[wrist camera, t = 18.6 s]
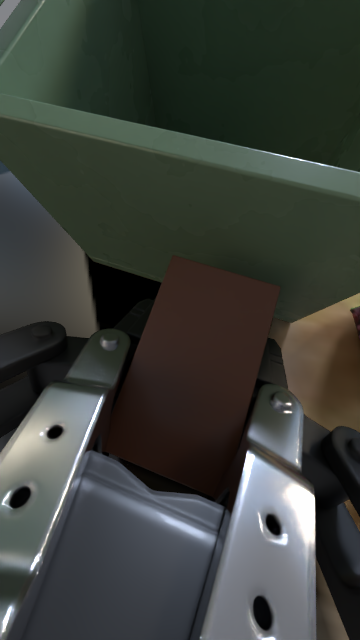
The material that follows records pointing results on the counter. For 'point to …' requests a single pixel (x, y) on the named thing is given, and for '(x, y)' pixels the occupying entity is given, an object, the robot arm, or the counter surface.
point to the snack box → (356, 318)
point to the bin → (194, 135)
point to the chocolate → (193, 374)
